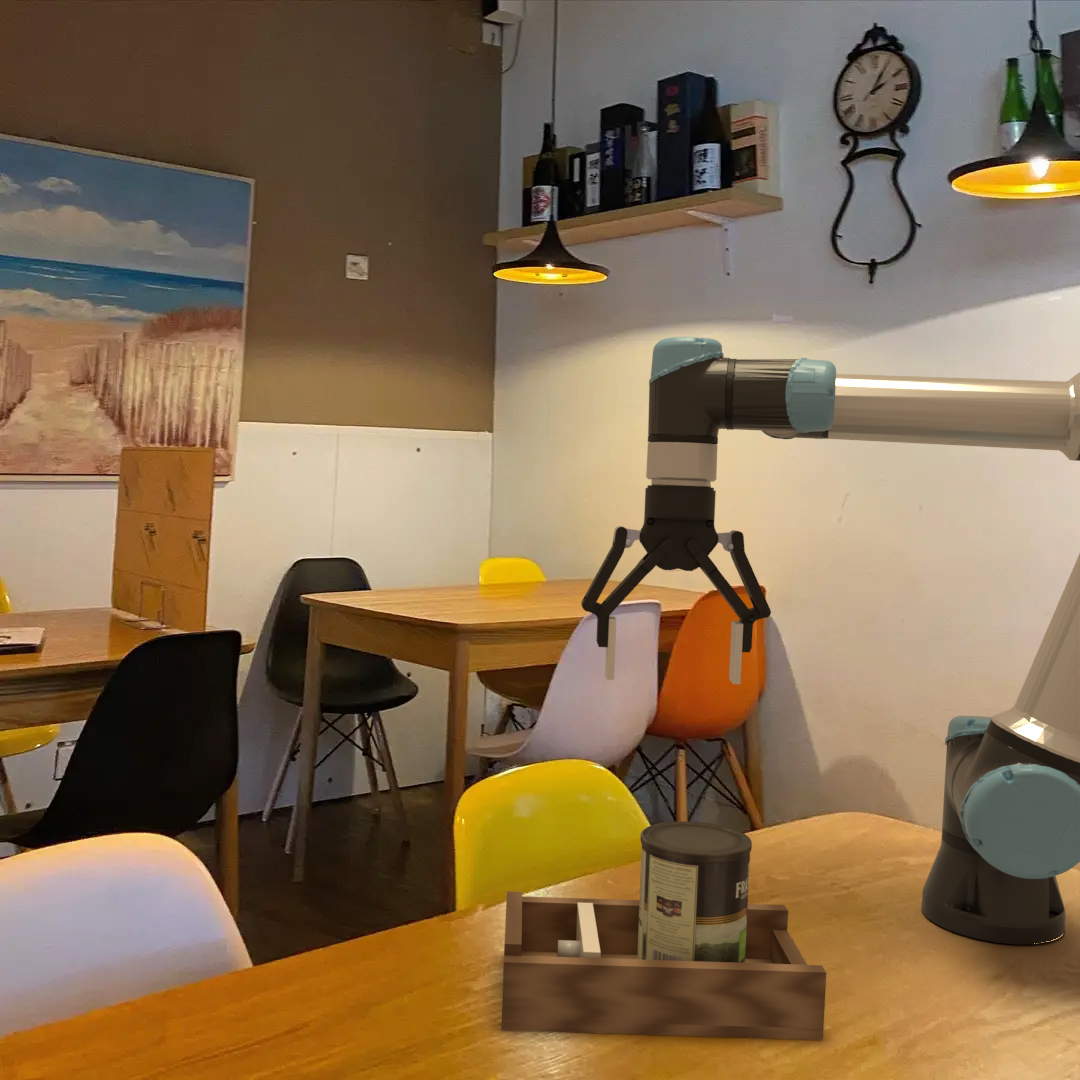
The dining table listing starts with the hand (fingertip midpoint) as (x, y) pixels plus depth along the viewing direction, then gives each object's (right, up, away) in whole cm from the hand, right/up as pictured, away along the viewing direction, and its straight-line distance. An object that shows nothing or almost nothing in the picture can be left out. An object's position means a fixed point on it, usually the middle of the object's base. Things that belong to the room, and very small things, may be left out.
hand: (672, 680), depth 124 cm
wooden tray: (-4, -27, -17) cm, 32 cm away
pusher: (-11, -26, -17) cm, 33 cm away
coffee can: (0, -27, -17) cm, 31 cm away
